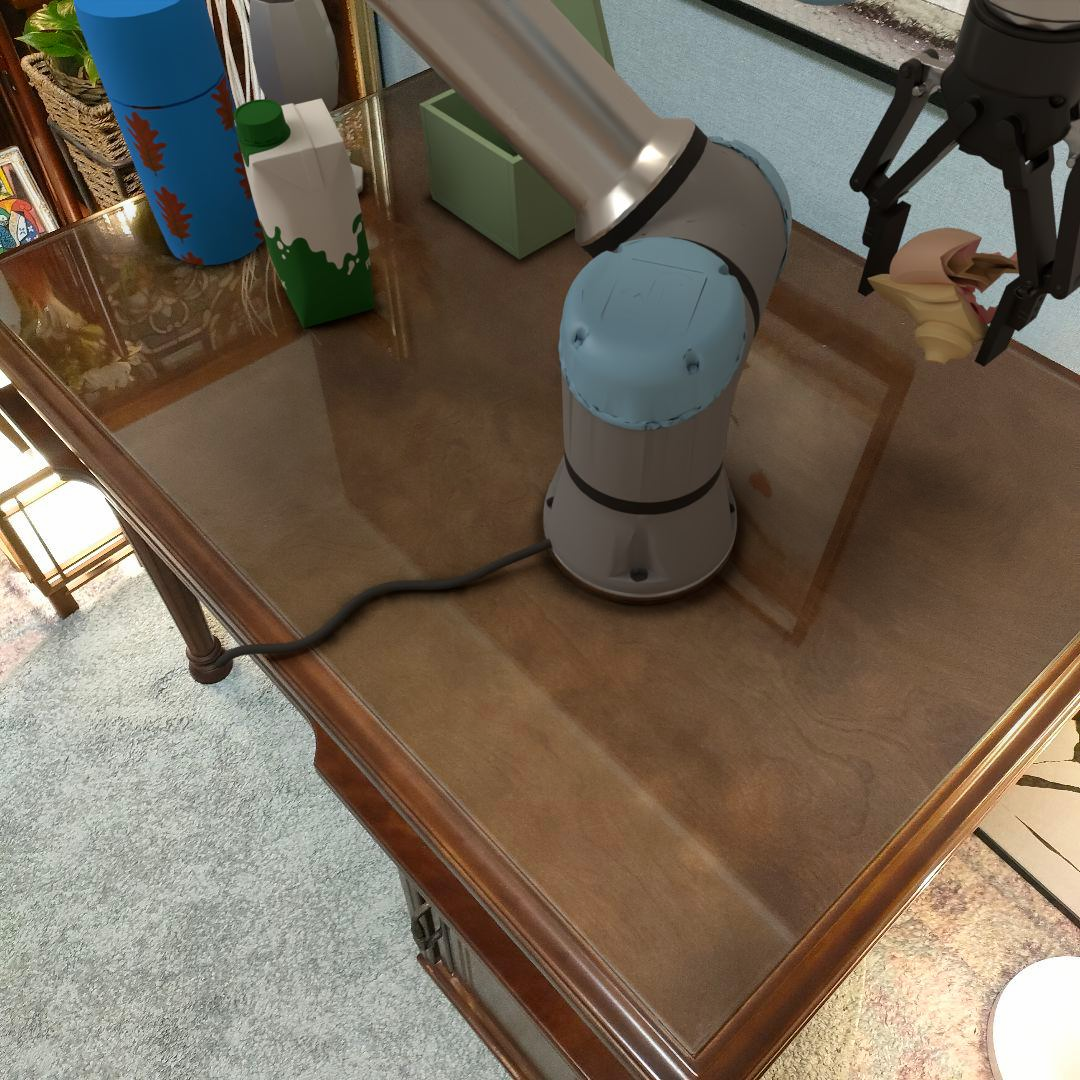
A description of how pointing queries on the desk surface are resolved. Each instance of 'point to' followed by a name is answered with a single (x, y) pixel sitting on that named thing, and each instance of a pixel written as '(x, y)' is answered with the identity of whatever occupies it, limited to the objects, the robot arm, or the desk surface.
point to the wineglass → (296, 55)
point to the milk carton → (307, 207)
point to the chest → (488, 179)
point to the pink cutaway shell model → (944, 289)
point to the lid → (588, 23)
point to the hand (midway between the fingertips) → (930, 319)
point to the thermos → (176, 121)
